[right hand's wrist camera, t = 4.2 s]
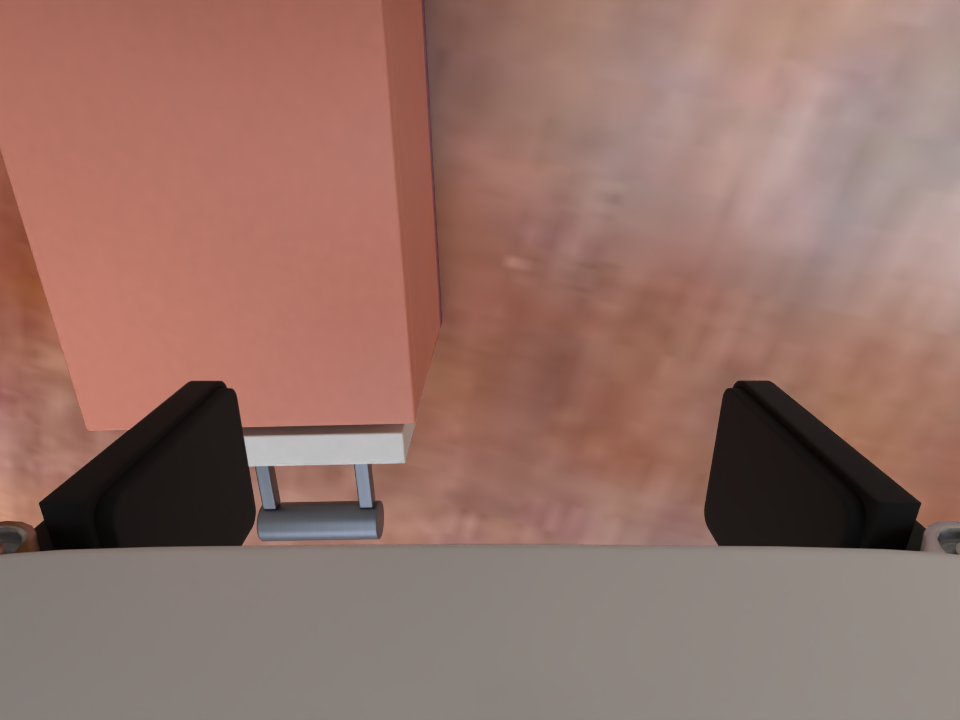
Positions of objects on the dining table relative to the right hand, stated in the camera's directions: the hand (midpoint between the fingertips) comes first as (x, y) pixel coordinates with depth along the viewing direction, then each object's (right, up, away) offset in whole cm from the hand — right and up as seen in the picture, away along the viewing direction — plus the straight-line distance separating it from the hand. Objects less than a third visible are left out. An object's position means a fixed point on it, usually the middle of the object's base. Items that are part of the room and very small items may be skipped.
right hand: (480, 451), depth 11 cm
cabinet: (-7, +12, +14) cm, 20 cm away
